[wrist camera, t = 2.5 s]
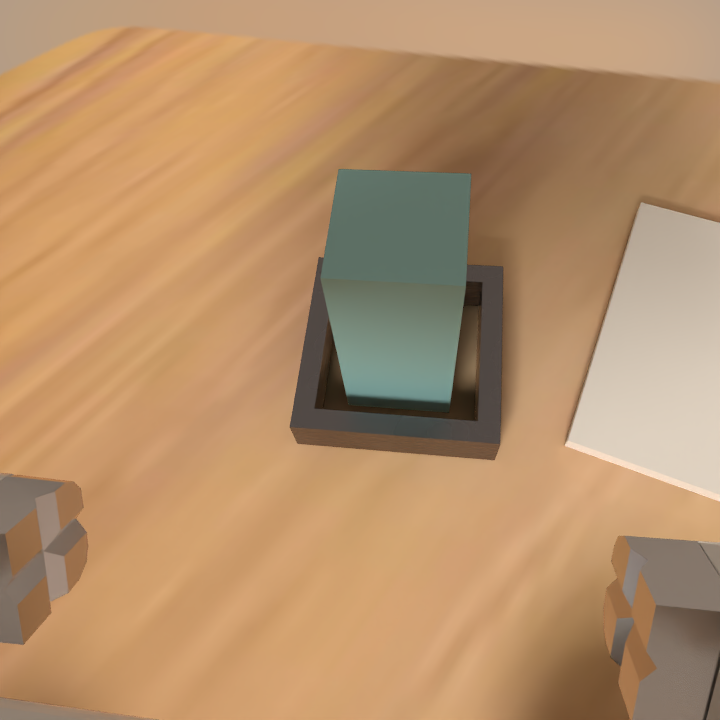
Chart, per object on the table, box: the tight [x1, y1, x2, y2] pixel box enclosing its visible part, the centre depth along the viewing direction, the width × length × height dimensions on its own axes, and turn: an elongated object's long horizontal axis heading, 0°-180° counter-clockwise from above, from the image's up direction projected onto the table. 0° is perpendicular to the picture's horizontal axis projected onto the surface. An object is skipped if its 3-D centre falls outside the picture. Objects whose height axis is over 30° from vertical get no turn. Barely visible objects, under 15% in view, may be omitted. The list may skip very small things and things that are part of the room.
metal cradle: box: [290, 257, 503, 460], centre depth 26 cm, size 8×8×2 cm
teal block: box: [320, 169, 471, 413], centre depth 23 cm, size 4×4×9 cm
